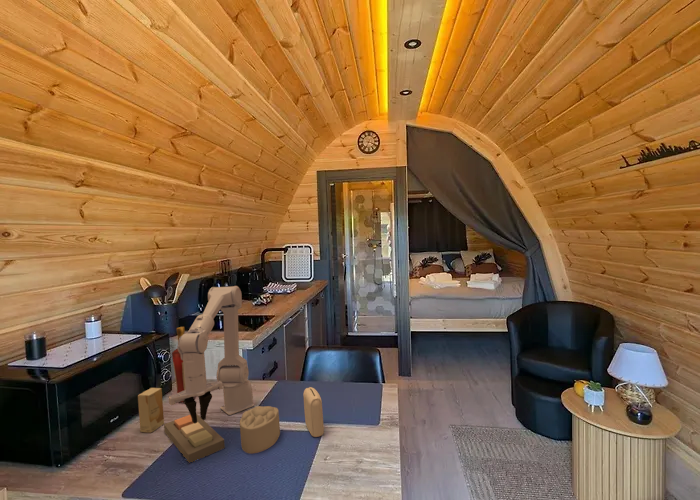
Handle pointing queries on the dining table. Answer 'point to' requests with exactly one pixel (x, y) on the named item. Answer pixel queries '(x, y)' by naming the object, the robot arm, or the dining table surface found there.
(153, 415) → the skincare box
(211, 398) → the robot arm
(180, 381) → the liquor
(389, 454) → the dining table surface
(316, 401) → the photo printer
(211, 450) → the keypad base
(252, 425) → the lumpy-topped squat cylinder
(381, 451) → the dining table surface
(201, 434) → the sage key
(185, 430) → the cream key
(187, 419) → the terracotta key
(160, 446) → the dining table surface
